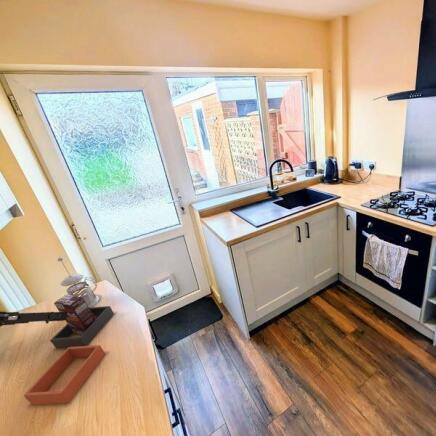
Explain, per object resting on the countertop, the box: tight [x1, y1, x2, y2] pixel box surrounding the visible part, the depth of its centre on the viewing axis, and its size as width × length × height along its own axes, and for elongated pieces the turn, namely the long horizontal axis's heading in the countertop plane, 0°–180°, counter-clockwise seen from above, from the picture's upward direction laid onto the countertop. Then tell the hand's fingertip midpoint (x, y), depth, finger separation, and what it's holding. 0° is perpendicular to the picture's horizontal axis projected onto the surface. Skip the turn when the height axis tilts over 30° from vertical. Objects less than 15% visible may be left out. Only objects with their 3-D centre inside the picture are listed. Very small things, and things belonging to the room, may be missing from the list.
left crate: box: [23, 344, 106, 406], centre depth 78 cm, size 12×16×4 cm
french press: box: [56, 256, 100, 307], centre depth 107 cm, size 10×12×25 cm
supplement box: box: [53, 294, 97, 335], centre depth 94 cm, size 9×5×16 cm, turn 76°
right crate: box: [49, 305, 115, 350], centre depth 96 cm, size 12×16×4 cm
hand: (47, 317), depth 83 cm, fingers open, 13 cm apart
